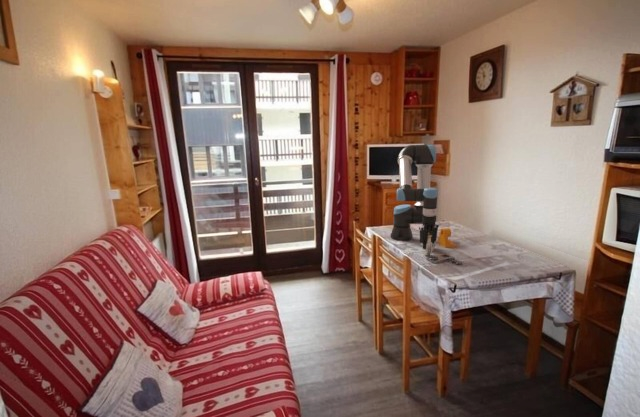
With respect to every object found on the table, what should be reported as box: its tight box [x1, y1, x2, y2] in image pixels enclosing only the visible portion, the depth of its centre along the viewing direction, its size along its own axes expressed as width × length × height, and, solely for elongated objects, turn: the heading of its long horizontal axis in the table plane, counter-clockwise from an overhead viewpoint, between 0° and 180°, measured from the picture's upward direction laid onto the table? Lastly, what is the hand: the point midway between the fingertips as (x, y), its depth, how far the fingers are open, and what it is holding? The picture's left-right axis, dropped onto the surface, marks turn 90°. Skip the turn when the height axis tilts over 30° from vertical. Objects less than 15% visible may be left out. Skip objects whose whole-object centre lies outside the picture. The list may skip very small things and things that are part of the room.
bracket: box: [437, 228, 457, 248], centre depth 206 cm, size 11×7×12 cm, turn 3°
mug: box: [420, 240, 437, 252], centre depth 201 cm, size 11×8×10 cm
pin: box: [424, 233, 432, 257], centre depth 188 cm, size 4×4×13 cm
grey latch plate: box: [444, 256, 467, 267], centre depth 181 cm, size 15×7×2 cm, turn 25°
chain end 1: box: [426, 252, 456, 265], centre depth 182 cm, size 15×7×2 cm, turn 115°
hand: (427, 253), depth 189 cm, fingers closed on pin, 3 cm apart
